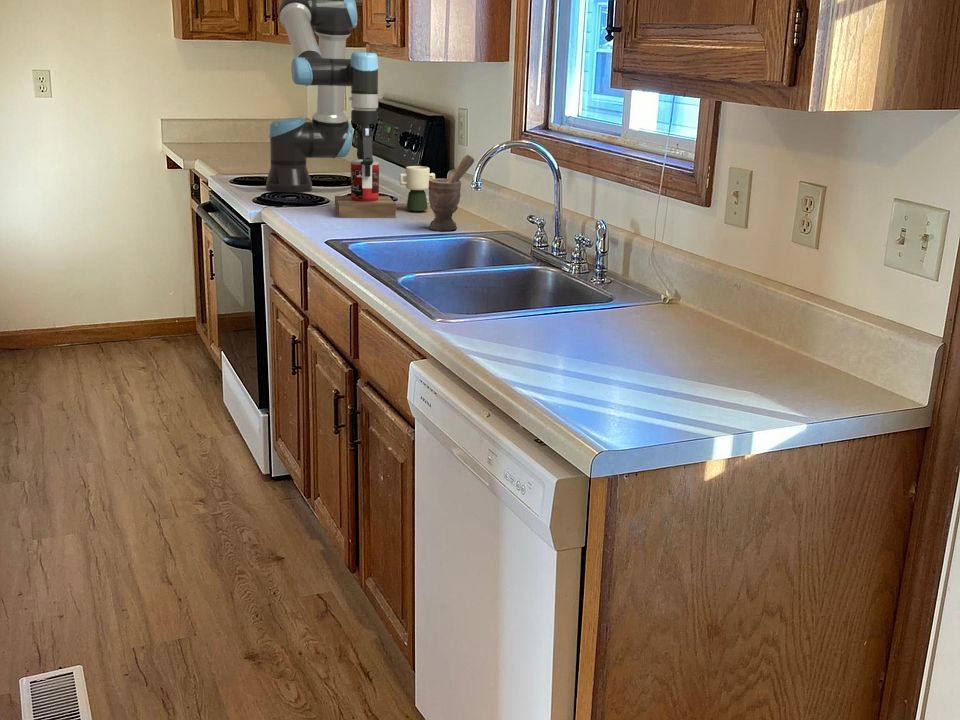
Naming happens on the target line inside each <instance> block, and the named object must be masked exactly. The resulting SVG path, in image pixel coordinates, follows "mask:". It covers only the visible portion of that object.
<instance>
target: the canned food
mask: <svg viewBox="0 0 960 720" xmlns="http://www.w3.org/2000/svg"><path fill="white" fill-rule="evenodd" d="M361 161H363V160H359V159H356V160H351V161H350V196H351V198H352V200H354V201H362V202H371V201H377V200H378V198H379V196H380V194H379V193H380V191H379V189H380V163H379V161H378V160H373V163H372V188H362V165H360V163H361Z"/></svg>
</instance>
